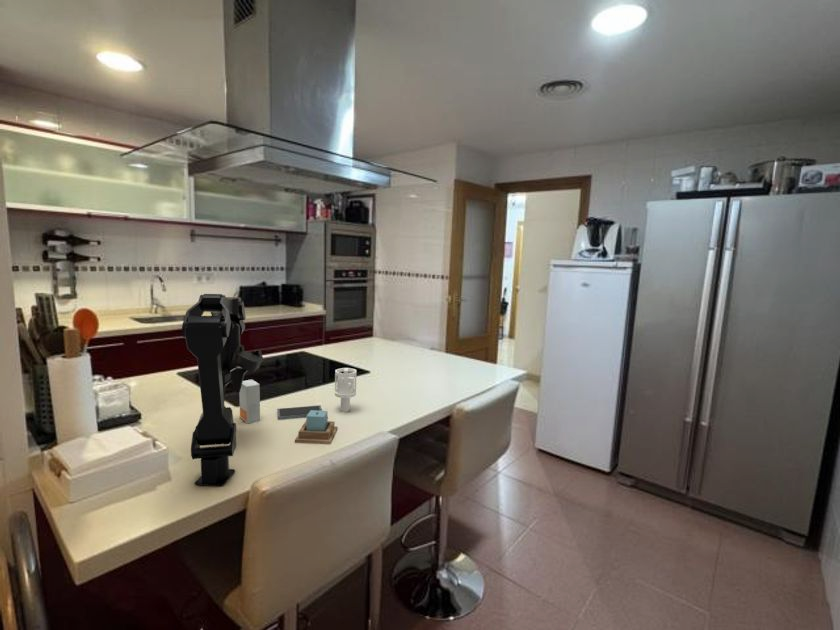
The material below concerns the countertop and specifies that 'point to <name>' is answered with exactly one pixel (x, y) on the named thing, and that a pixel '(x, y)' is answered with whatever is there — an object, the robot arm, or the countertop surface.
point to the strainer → (345, 386)
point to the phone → (296, 412)
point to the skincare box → (250, 401)
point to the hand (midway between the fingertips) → (230, 398)
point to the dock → (317, 435)
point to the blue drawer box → (316, 420)
